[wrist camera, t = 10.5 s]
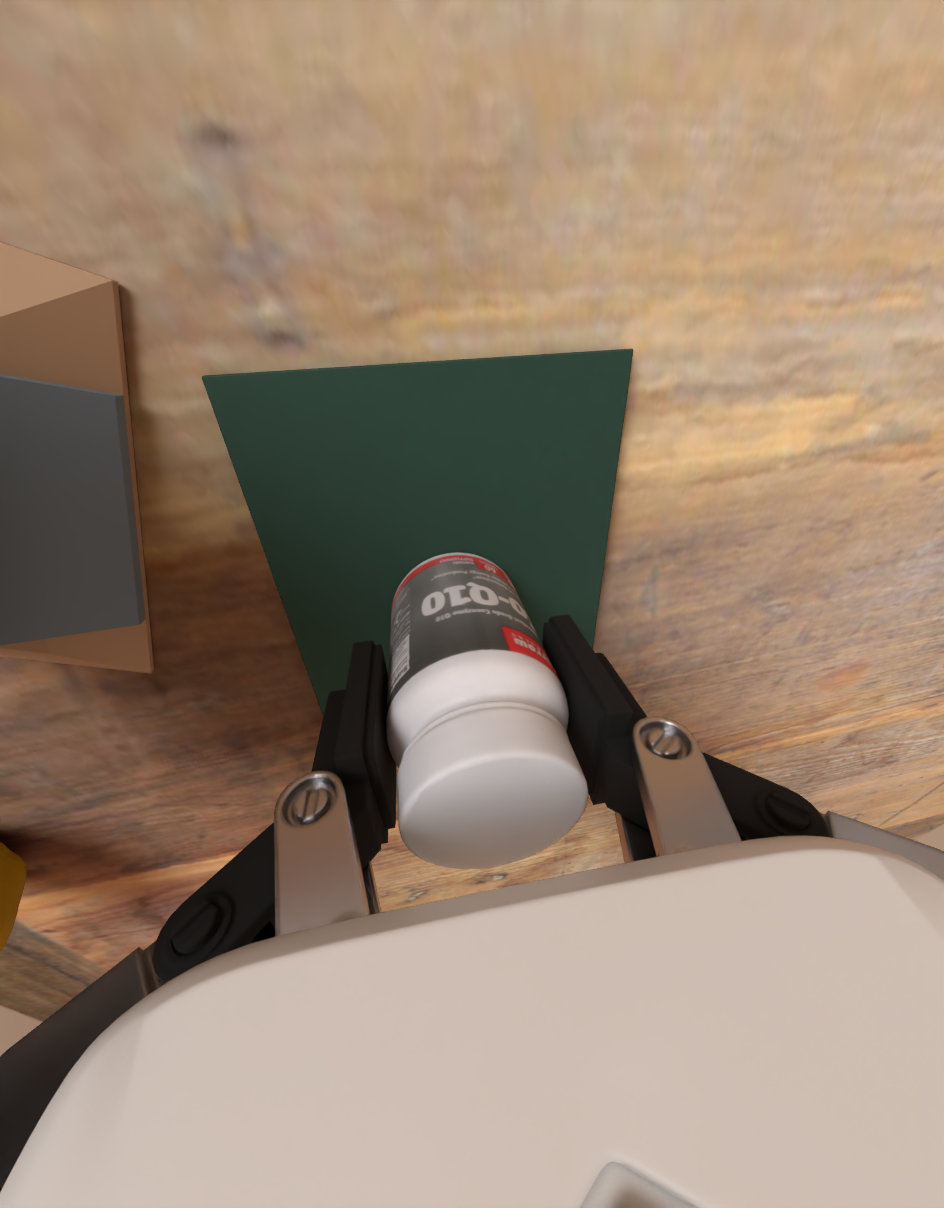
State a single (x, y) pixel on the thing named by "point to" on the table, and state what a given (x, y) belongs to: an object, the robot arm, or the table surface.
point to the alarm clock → (67, 472)
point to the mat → (425, 484)
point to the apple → (10, 890)
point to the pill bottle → (476, 720)
